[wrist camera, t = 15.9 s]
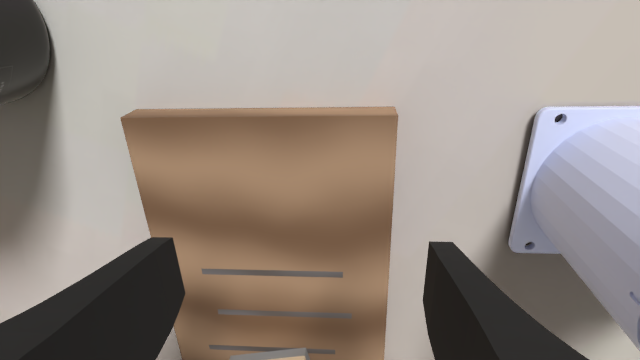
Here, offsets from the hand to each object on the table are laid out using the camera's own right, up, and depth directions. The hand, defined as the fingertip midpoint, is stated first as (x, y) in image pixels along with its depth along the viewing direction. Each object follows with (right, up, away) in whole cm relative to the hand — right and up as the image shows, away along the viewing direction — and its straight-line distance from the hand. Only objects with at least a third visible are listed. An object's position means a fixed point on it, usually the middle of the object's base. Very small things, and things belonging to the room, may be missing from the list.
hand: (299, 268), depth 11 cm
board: (-2, -5, +13) cm, 14 cm away
